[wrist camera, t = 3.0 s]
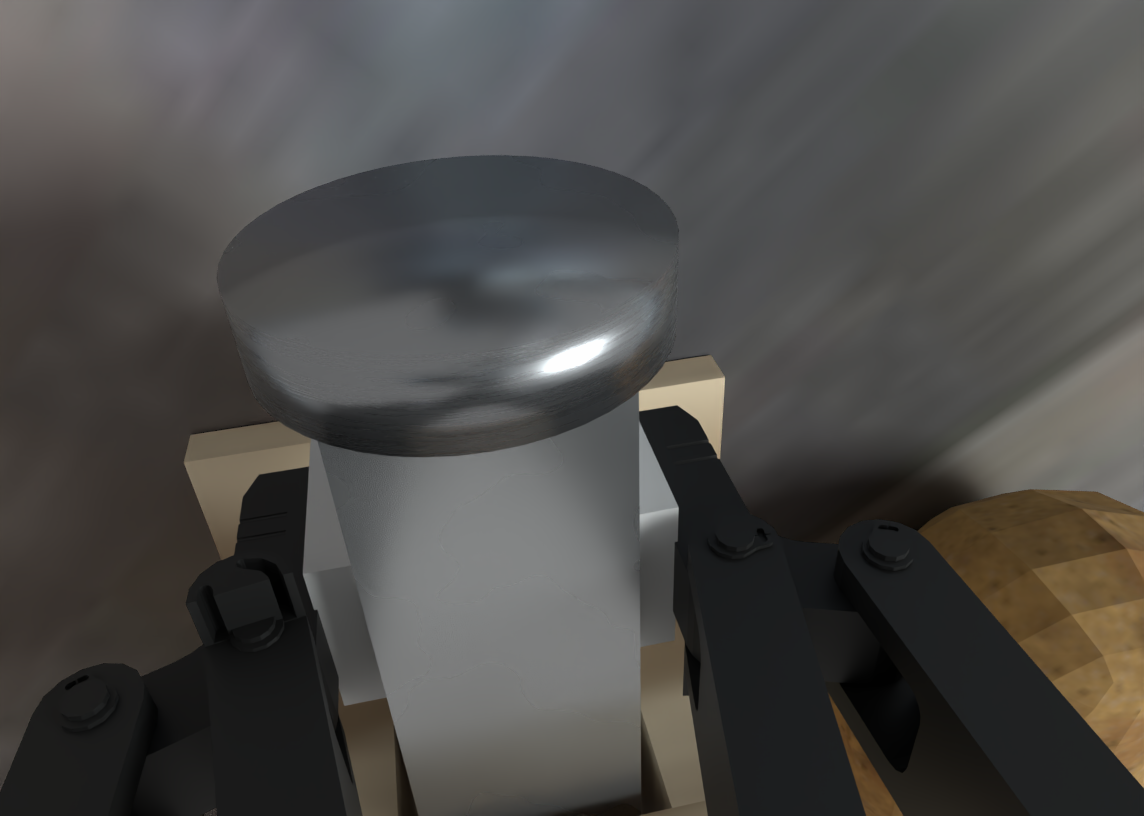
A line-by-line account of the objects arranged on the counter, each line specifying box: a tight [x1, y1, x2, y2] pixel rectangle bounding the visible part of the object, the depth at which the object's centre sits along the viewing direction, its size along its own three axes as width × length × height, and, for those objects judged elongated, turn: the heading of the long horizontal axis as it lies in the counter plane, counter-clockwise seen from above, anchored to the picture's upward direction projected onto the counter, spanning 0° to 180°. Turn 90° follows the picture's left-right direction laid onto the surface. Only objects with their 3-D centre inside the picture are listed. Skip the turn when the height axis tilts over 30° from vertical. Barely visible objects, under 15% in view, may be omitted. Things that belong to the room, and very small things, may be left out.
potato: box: [828, 489, 1144, 816], centre depth 25 cm, size 10×14×8 cm
